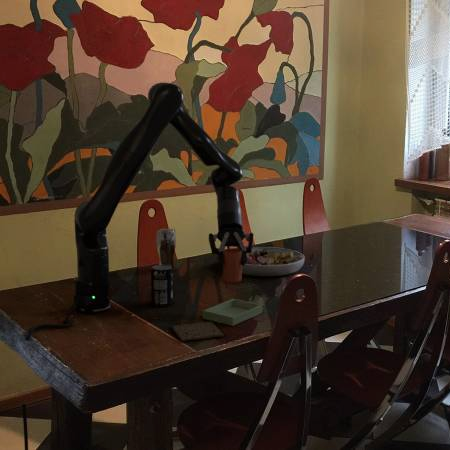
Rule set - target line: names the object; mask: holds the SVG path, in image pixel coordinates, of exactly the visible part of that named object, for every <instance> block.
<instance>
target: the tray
mask: <svg viewBox="0 0 450 450" xmlns="http://www.w3.org/2000/svg"><path fill="white" fill-rule="evenodd" d="M261 314H263V304H261V303H256V302H251V301H247V300H242V299H237V298H231V299H228V300H226V301H223V302H220V303H218V304H215V305H213V306H211V307H209V308H206V309H203V310H202V319H203V320H206V321H210V322H215V323H220V324H224V325H228V326H230V327H231V326H232V327H233V326H236V325H238V324H241V323H242V322H243V323H244V322H245V321H247V320H250V319H253V317H256V316H258V315H261Z"/></svg>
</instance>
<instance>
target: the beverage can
mask: <svg viewBox="0 0 450 450" xmlns="http://www.w3.org/2000/svg"><path fill="white" fill-rule="evenodd" d="M173 288H174V287H173V271H172V270H171V266H168V265H159V264H157V265H153V266H152V270H151V272H150V289H151V290H150V293H151V296H150V297H151V300H150V301H151V304H152V305H153V306H155V307H168V306H170V305H171V304H172V303H173V301H174V300H173V296H174V295H173V290H174V289H173Z"/></svg>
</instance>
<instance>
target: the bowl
mask: <svg viewBox="0 0 450 450" xmlns="http://www.w3.org/2000/svg"><path fill="white" fill-rule="evenodd" d="M305 258H306V257H305V255H304V254H303V253H301V252H299V251H296V250H293V249H289V248H283V247H275V246H273V247H271V246H254V247H253V246H252V252H251V253H247V262H246V264H245V265H242V275H245V276H251V277H263V278H264V277H266V278H267V277H280V276H286V275H287V276H288V275H291V274H294V273H296V272H298V271H299V270H300V269H302V267H303V265H304V264H305V260H306V259H305Z"/></svg>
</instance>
